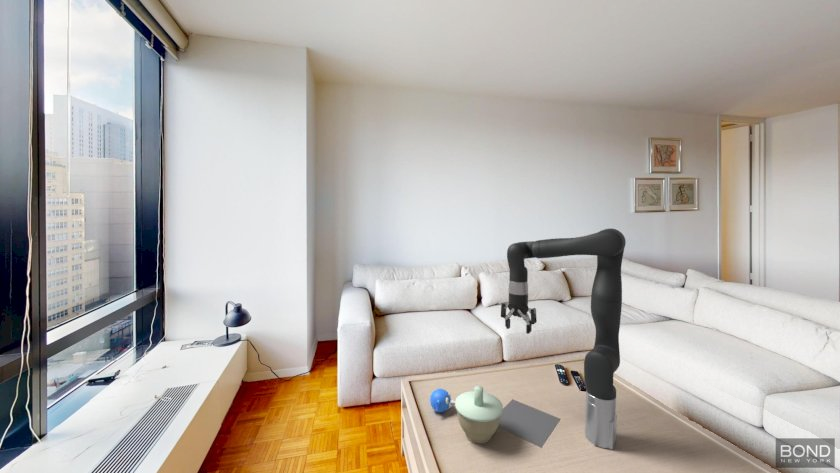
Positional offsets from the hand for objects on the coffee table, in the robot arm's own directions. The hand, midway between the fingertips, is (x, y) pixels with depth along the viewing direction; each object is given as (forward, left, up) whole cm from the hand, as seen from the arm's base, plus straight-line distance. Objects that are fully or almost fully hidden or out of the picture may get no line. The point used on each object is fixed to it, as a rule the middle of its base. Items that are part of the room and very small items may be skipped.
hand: (517, 330), depth 129 cm
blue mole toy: (+22, +21, -33) cm, 45 cm away
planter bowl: (+4, +24, -33) cm, 41 cm away
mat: (-6, +6, -33) cm, 34 cm away
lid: (+4, +24, -22) cm, 33 cm away
